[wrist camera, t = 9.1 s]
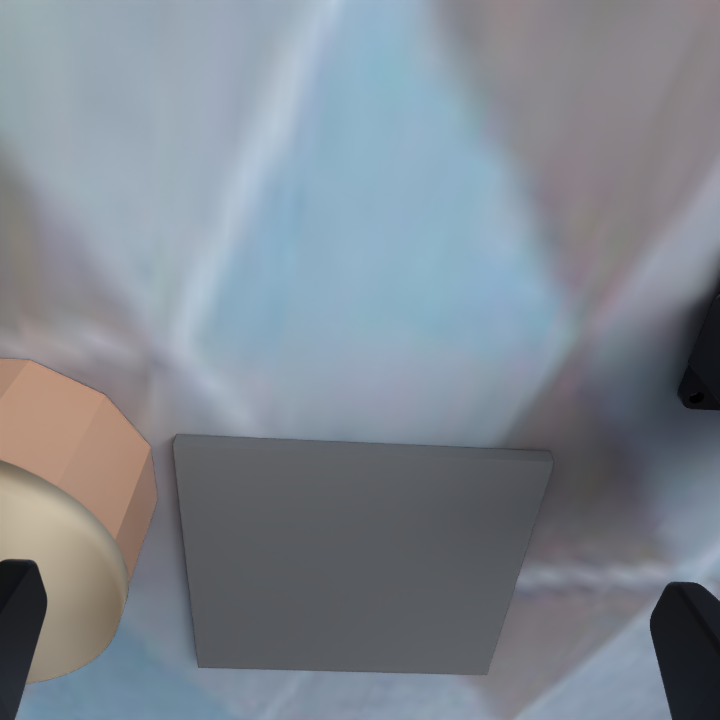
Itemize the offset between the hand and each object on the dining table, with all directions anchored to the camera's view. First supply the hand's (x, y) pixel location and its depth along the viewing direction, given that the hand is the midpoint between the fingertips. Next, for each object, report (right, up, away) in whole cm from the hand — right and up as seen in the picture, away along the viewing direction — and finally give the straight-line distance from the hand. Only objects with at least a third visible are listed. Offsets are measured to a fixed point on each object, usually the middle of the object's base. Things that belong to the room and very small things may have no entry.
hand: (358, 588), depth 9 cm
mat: (0, -6, +19) cm, 20 cm away
